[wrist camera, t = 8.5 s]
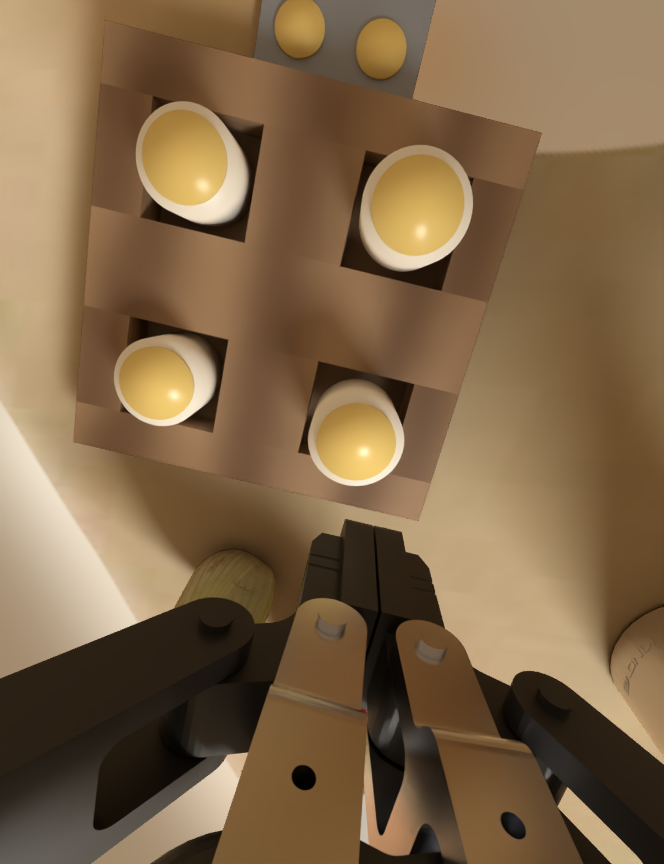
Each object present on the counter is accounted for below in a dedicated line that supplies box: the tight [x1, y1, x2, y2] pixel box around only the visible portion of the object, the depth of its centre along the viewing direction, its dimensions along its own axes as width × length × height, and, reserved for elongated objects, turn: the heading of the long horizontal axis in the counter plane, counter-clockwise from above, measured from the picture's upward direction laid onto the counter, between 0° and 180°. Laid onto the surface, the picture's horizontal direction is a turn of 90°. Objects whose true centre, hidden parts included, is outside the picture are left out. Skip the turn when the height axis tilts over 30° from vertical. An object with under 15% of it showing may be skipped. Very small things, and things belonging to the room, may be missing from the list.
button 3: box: [114, 332, 223, 426], centre depth 25 cm, size 4×4×4 cm
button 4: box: [308, 379, 404, 486], centre depth 23 cm, size 4×4×4 cm
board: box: [73, 20, 542, 521], centre depth 25 cm, size 20×20×3 cm
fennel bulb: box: [175, 549, 276, 624], centre depth 26 cm, size 6×5×12 cm
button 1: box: [136, 101, 255, 229], centre depth 22 cm, size 4×4×4 cm
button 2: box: [359, 145, 473, 272], centre depth 20 cm, size 4×4×4 cm
